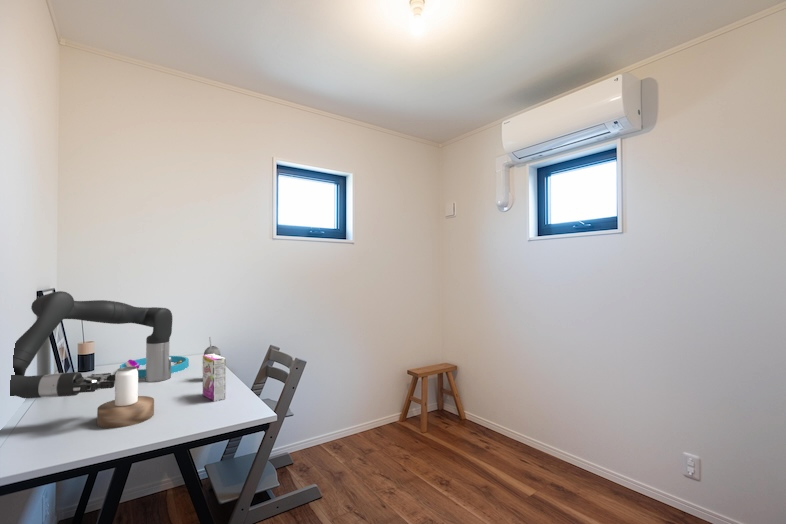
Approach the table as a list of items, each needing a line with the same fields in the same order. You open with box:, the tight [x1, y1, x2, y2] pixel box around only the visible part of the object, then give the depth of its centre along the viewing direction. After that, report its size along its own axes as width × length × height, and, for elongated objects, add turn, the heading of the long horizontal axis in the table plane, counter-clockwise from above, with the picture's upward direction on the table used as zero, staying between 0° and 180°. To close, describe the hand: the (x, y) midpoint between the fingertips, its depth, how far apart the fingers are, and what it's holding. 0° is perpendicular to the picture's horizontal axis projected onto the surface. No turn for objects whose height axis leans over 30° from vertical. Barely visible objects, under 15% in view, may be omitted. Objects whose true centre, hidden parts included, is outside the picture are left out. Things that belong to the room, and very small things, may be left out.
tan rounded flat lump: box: [96, 395, 155, 429], centre depth 132 cm, size 16×16×5 cm
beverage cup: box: [203, 336, 221, 356], centre depth 178 cm, size 7×7×20 cm
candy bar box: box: [202, 354, 226, 402], centre depth 154 cm, size 11×5×16 cm, turn 47°
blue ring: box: [119, 355, 190, 378], centre depth 197 cm, size 30×30×6 cm
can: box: [114, 367, 139, 407], centre depth 132 cm, size 6×6×12 cm
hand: (118, 380), depth 132 cm, fingers open, 8 cm apart
